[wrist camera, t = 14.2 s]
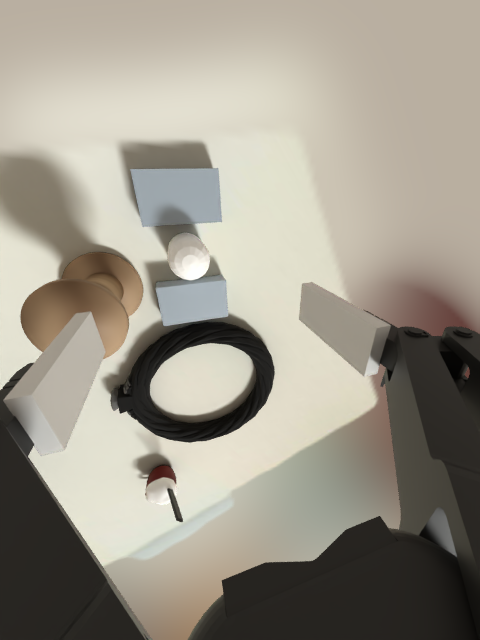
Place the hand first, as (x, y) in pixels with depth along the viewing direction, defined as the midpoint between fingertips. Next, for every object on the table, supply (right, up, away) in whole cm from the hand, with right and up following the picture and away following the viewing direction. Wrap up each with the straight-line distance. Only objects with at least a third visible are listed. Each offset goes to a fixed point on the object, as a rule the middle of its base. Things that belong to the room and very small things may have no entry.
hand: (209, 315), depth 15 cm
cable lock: (-6, -12, +31) cm, 34 cm away
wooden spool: (-17, +4, +19) cm, 26 cm away
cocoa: (-16, -35, +39) cm, 54 cm away
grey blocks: (-6, +10, +19) cm, 23 cm away
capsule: (-6, +10, +20) cm, 23 cm away
